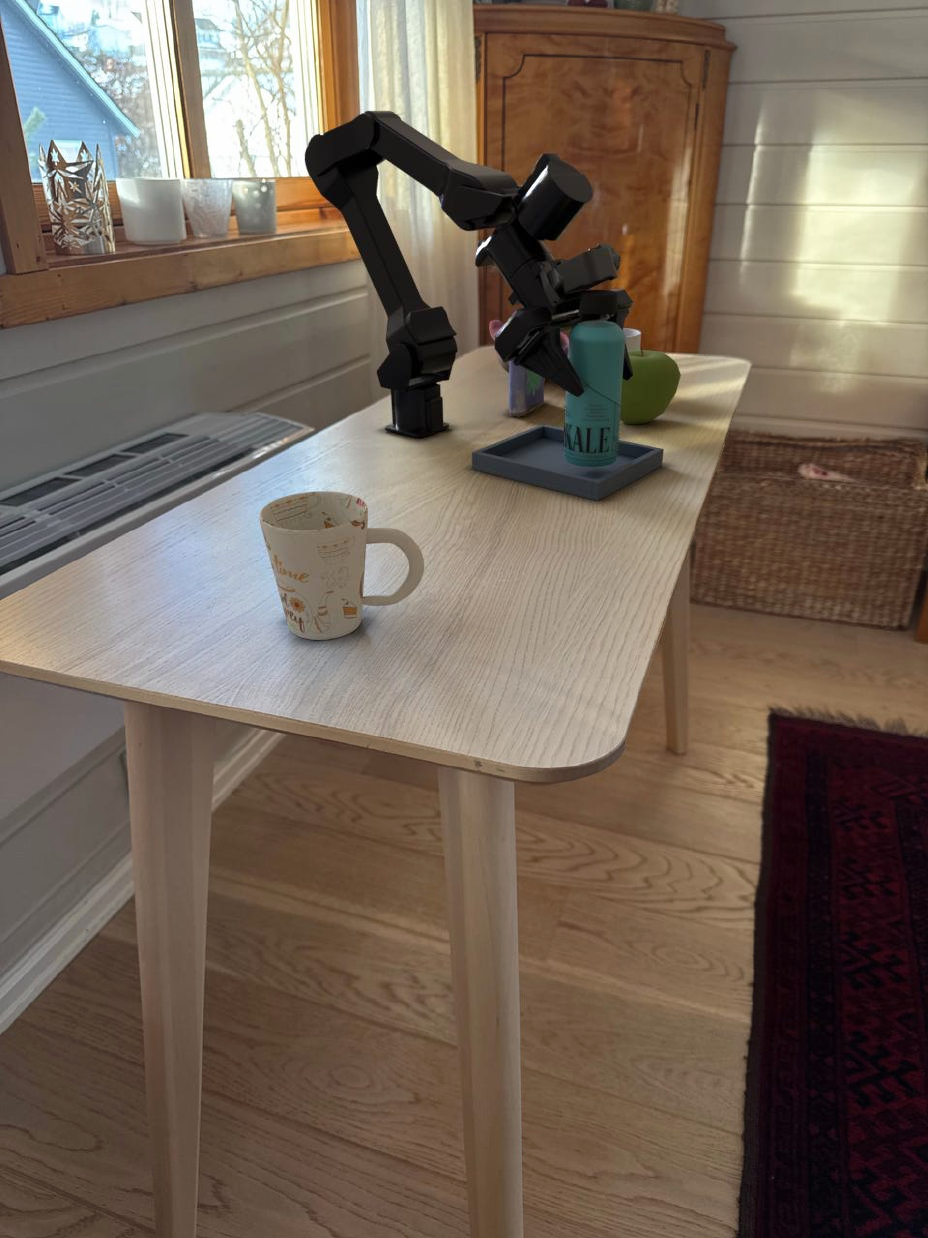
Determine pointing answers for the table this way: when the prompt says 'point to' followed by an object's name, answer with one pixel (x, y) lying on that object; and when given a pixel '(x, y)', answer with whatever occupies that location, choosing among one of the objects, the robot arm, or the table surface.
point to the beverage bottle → (595, 384)
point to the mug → (328, 561)
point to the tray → (563, 463)
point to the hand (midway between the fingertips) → (606, 386)
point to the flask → (524, 390)
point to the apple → (648, 386)
